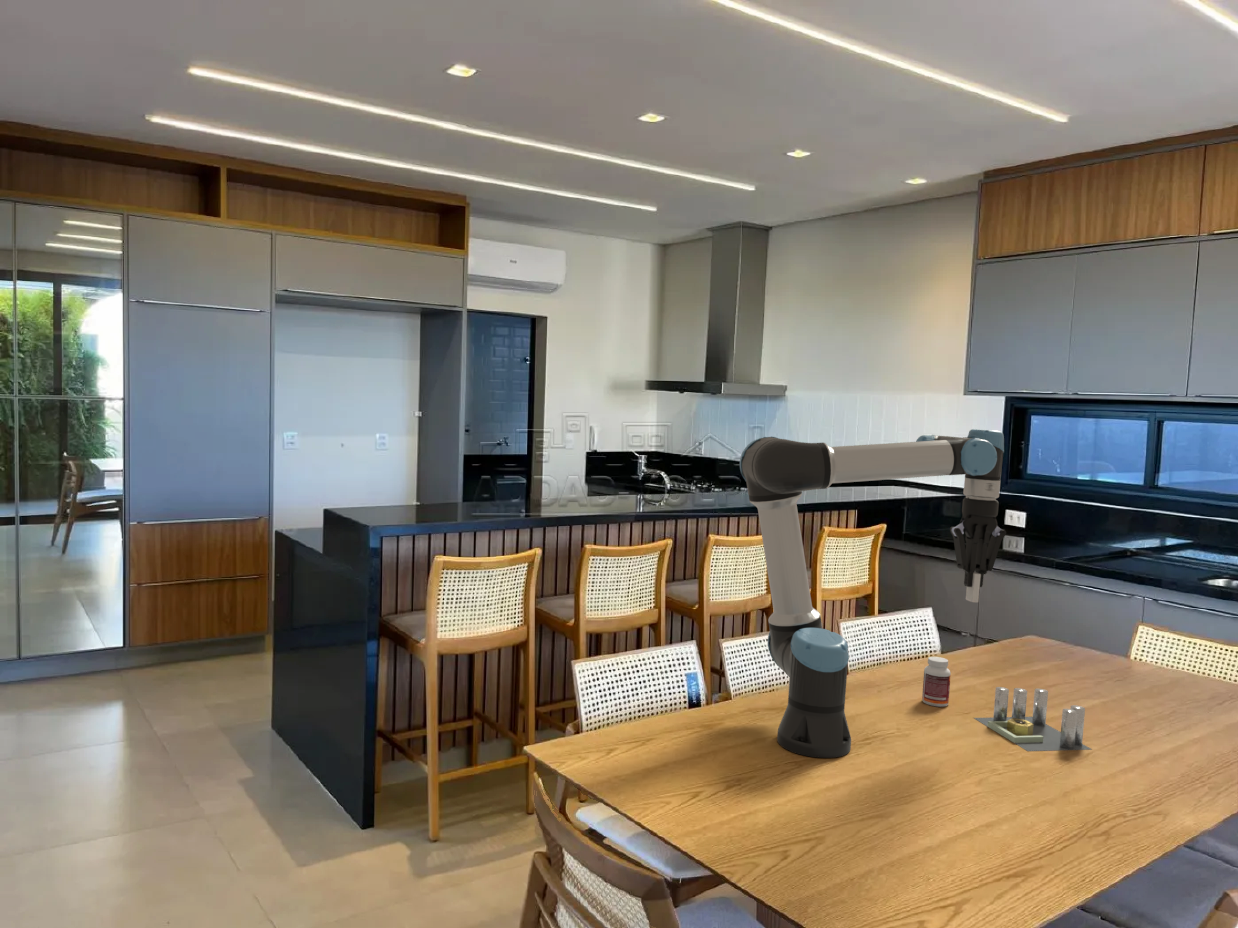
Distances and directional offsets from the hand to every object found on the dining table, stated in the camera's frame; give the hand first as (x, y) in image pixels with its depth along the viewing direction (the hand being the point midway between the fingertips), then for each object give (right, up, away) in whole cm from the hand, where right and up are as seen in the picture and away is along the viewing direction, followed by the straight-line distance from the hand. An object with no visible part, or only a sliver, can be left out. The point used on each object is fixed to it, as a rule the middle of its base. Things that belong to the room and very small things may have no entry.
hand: (971, 600), depth 202 cm
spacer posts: (+14, -29, -4) cm, 32 cm away
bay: (+8, -29, -4) cm, 31 cm away
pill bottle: (-3, -28, +16) cm, 32 cm away
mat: (+12, -30, -3) cm, 32 cm away
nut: (+9, -29, -3) cm, 31 cm away
